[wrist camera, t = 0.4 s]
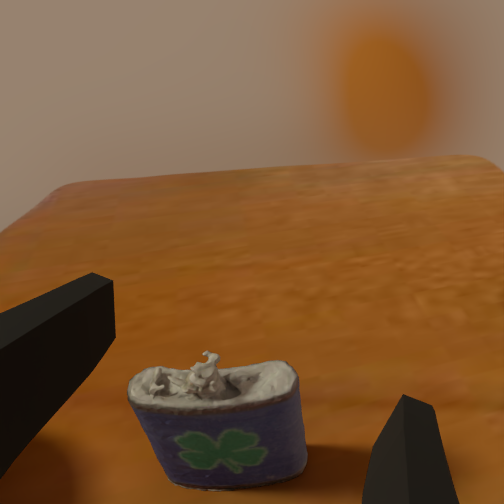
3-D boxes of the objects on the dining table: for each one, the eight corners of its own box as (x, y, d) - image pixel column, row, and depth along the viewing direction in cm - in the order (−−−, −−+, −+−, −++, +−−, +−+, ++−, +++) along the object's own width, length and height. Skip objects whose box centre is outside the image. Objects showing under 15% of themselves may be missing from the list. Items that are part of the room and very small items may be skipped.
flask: (306, 440, 29) (294, 333, 22) (310, 487, 27) (298, 384, 20) (168, 447, 30) (117, 347, 23) (161, 494, 28) (101, 397, 21)
